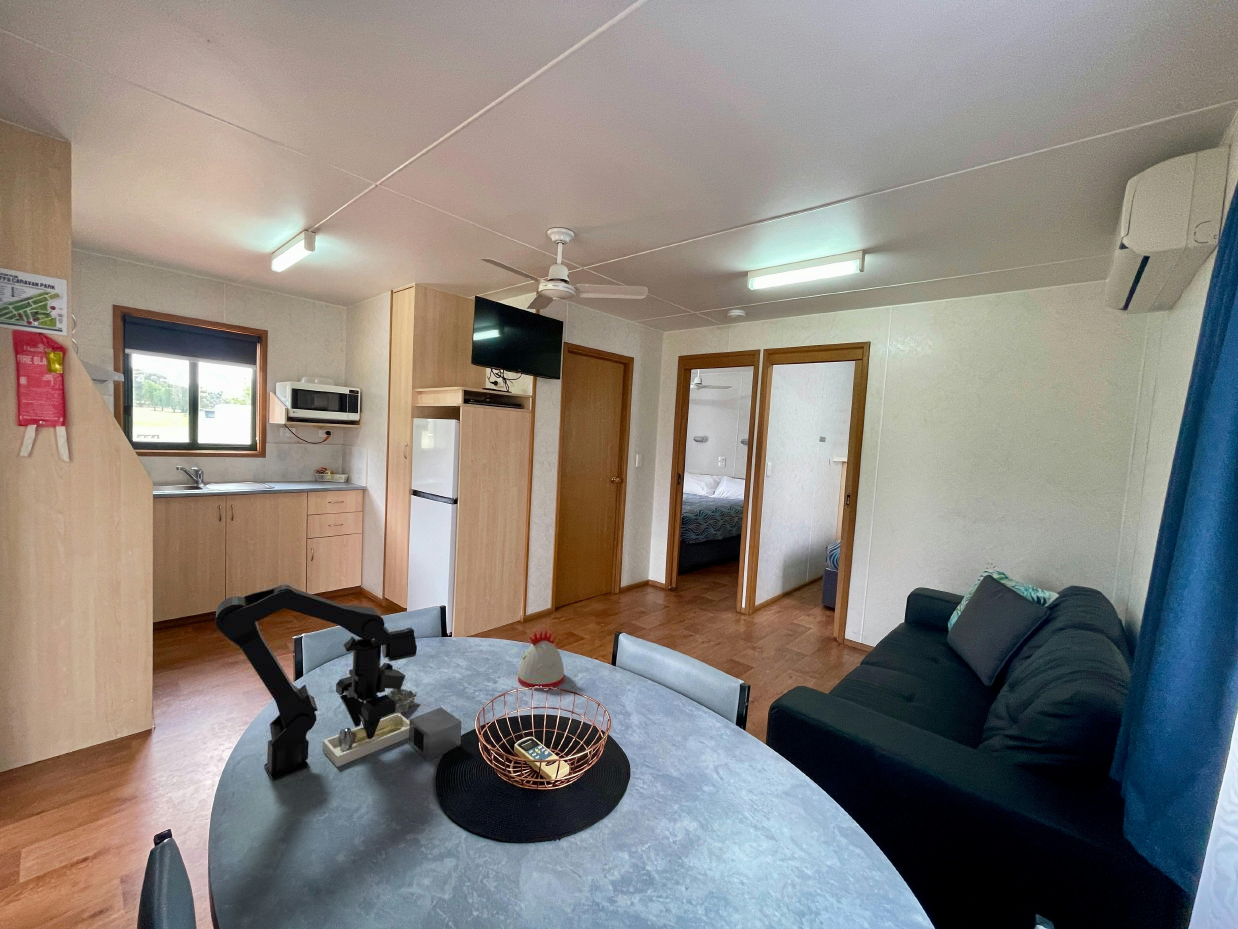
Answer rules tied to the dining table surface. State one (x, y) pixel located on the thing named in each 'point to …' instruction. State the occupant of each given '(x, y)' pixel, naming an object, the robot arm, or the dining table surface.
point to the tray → (364, 743)
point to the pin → (358, 735)
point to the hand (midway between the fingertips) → (364, 732)
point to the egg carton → (402, 699)
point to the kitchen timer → (541, 663)
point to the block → (434, 733)
